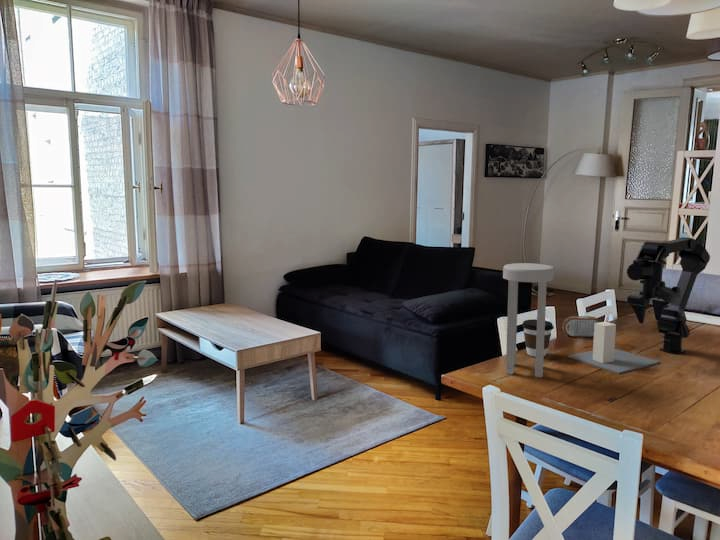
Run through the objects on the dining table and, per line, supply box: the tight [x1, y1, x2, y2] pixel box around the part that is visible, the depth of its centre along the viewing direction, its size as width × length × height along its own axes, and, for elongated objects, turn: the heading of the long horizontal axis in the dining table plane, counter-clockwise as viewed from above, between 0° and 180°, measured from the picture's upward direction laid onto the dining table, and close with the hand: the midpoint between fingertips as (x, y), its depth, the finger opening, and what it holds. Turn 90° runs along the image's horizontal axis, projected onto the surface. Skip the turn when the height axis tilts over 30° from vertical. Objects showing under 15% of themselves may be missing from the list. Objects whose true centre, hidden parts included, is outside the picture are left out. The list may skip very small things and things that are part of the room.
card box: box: [592, 321, 617, 363], centre depth 181 cm, size 5×4×13 cm
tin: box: [561, 315, 601, 338], centre depth 213 cm, size 15×3×8 cm, turn 84°
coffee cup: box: [521, 318, 554, 358], centre depth 190 cm, size 11×11×12 cm
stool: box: [502, 262, 555, 378], centre depth 172 cm, size 16×16×35 cm
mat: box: [567, 348, 661, 375], centre depth 184 cm, size 22×20×1 cm
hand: (649, 321), depth 185 cm, fingers open, 9 cm apart
